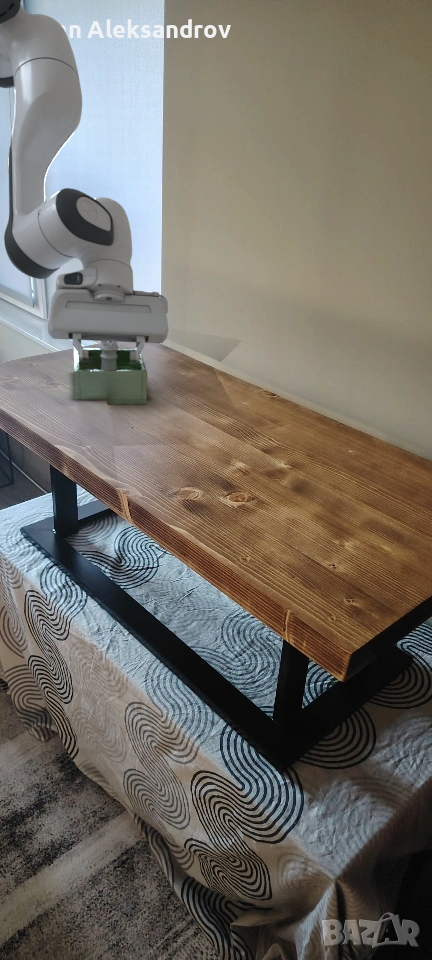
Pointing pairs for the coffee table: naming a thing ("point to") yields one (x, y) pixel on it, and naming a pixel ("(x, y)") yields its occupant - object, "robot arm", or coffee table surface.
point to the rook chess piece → (108, 354)
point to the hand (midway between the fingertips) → (109, 362)
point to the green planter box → (110, 379)
